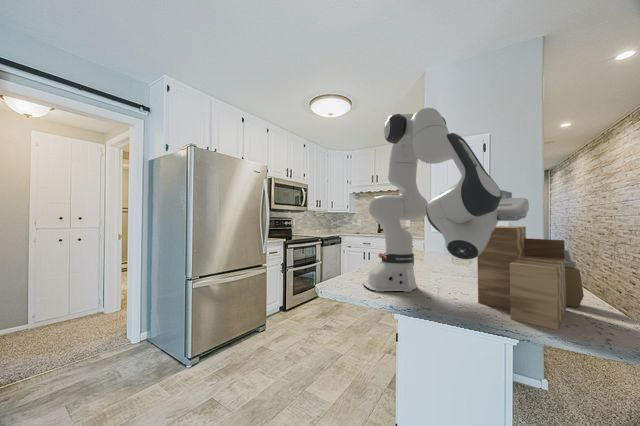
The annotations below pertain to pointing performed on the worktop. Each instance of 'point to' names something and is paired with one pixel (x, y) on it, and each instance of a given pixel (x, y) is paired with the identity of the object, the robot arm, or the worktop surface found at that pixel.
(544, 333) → the worktop surface
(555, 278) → the stepped wooden blocks
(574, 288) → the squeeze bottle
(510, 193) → the blue-grey bar
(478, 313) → the worktop surface
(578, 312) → the worktop surface
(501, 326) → the worktop surface
